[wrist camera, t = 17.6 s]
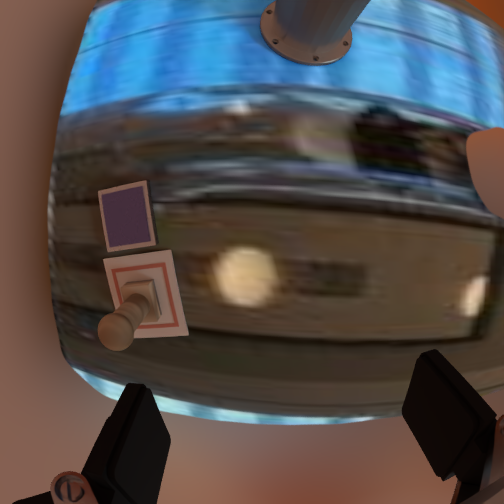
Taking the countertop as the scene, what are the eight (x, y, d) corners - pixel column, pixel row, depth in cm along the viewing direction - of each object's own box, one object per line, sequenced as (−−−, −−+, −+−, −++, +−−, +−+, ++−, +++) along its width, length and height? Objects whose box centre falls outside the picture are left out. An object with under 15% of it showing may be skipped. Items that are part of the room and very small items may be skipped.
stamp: (127, 282, 35) (84, 318, 23) (153, 279, 35) (118, 317, 23) (135, 316, 36) (100, 361, 25) (162, 314, 36) (132, 362, 25)
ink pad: (102, 191, 33) (96, 191, 31) (149, 180, 33) (145, 180, 31) (111, 250, 34) (106, 252, 33) (158, 243, 34) (155, 245, 33)
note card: (104, 258, 35) (102, 259, 34) (171, 249, 35) (170, 250, 34) (125, 337, 37) (124, 338, 37) (188, 334, 37) (188, 335, 37)
